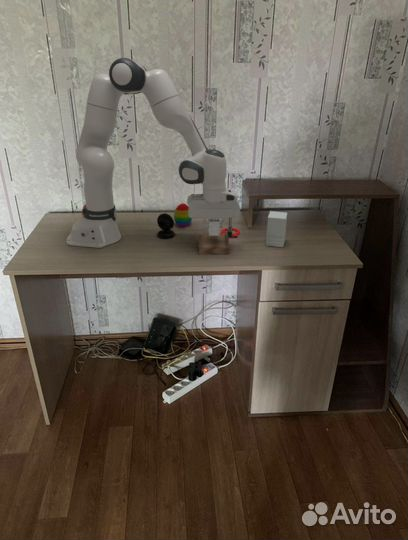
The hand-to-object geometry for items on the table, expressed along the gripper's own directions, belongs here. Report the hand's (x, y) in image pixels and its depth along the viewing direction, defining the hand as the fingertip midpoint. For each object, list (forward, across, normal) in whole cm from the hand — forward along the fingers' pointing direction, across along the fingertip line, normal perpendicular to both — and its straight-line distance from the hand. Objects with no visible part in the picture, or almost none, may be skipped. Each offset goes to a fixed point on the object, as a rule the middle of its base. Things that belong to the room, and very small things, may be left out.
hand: (213, 227), depth 161 cm
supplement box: (+9, +26, +4) cm, 28 cm away
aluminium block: (+2, 0, 0) cm, 2 cm away
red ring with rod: (+9, +8, +14) cm, 18 cm away
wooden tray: (+9, 0, 0) cm, 9 cm away
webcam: (+9, -20, +12) cm, 25 cm away
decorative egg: (+9, -13, +24) cm, 29 cm away
